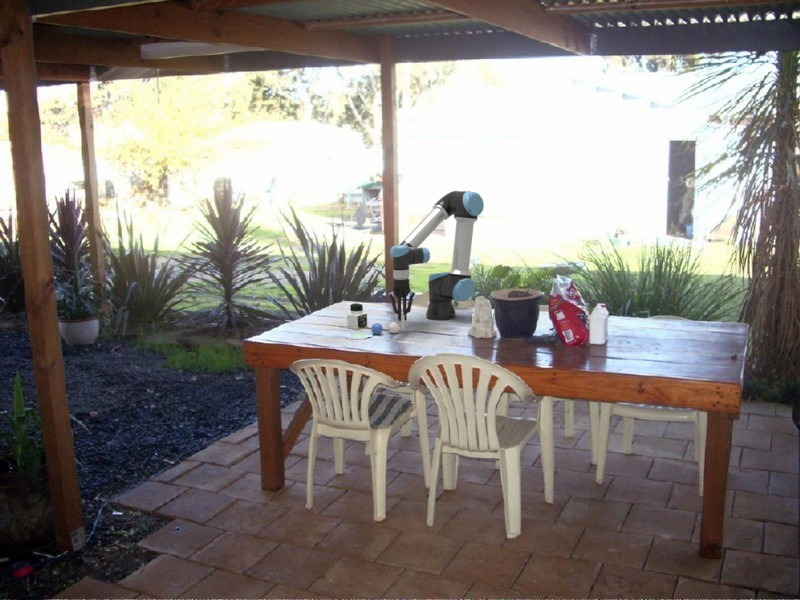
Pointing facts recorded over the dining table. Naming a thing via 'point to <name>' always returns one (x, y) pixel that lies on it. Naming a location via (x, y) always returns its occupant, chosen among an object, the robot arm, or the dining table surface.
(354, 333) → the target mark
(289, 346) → the dining table surface
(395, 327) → the cue ball
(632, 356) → the dining table surface
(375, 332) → the object ball
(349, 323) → the medicine bottle
